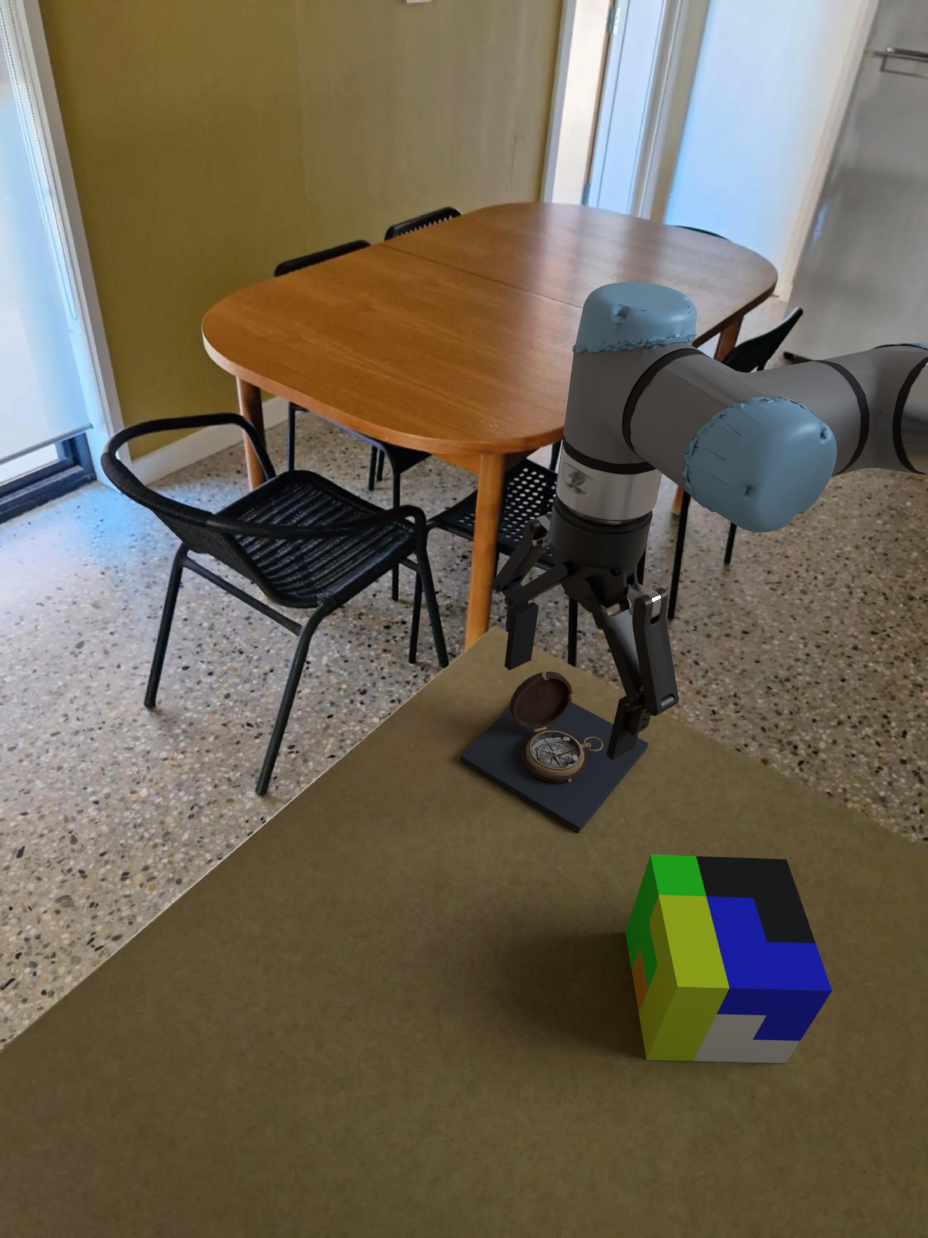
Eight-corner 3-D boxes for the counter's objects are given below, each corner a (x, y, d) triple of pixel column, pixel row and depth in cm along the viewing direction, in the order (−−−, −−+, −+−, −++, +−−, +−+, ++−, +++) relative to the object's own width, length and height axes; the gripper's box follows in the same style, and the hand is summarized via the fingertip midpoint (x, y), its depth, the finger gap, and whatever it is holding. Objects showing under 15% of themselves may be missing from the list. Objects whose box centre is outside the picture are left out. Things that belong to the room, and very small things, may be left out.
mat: (647, 748, 86) (648, 742, 85) (578, 833, 77) (579, 827, 77) (534, 688, 91) (535, 682, 91) (459, 761, 83) (459, 755, 82)
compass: (538, 793, 79) (548, 737, 75) (503, 732, 85) (511, 676, 80) (616, 772, 82) (631, 716, 77) (578, 714, 88) (589, 659, 83)
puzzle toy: (785, 1063, 63) (832, 991, 57) (646, 1060, 62) (677, 986, 56) (749, 935, 71) (786, 859, 64) (625, 931, 70) (650, 854, 64)
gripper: (463, 445, 72) (450, 645, 85) (698, 601, 57) (638, 814, 70) (532, 424, 76) (509, 618, 89) (770, 565, 61) (700, 774, 74)
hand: (566, 705), depth 80 cm, fingers open, 13 cm apart
